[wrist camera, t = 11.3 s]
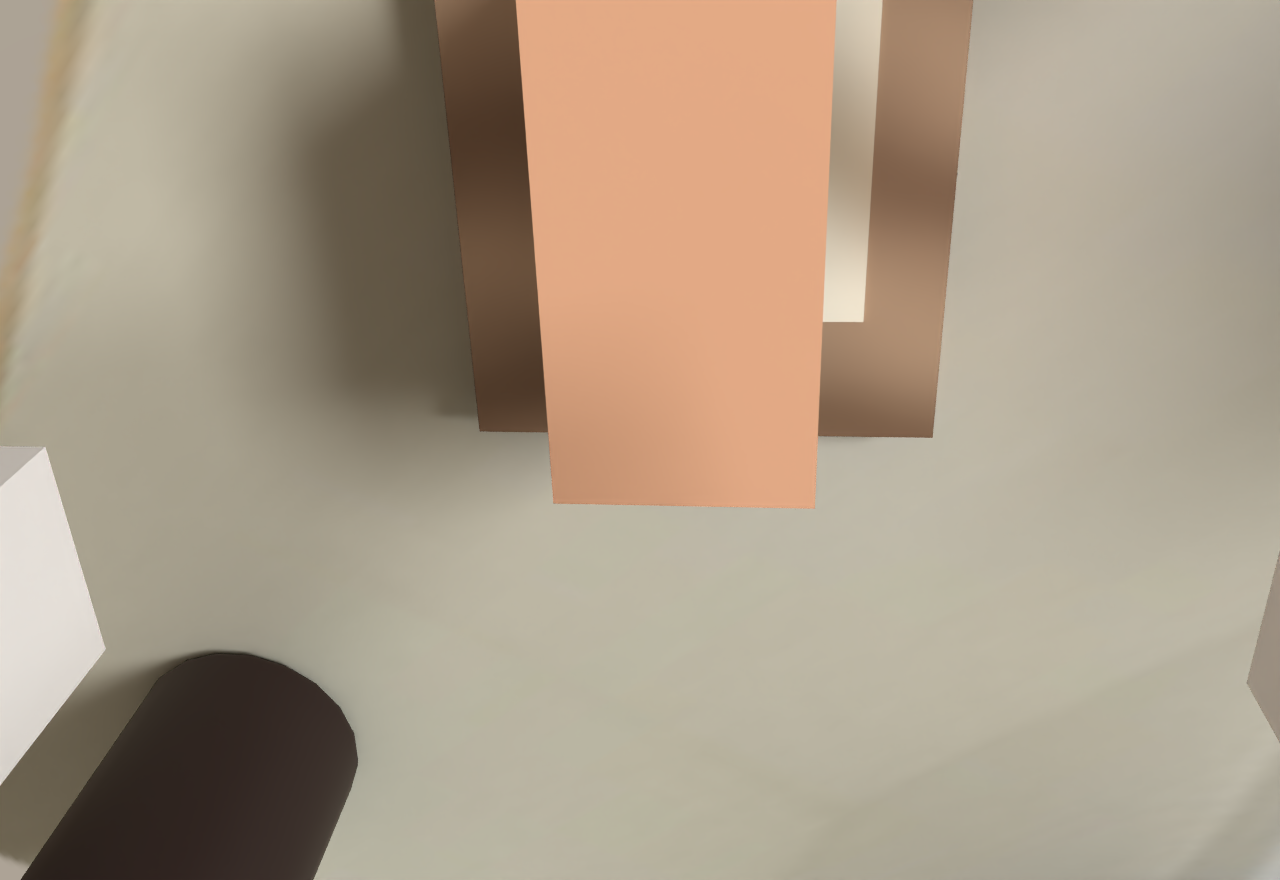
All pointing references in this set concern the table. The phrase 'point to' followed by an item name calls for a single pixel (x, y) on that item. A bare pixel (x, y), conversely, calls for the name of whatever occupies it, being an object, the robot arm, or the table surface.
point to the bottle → (212, 781)
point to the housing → (680, 244)
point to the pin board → (856, 218)
